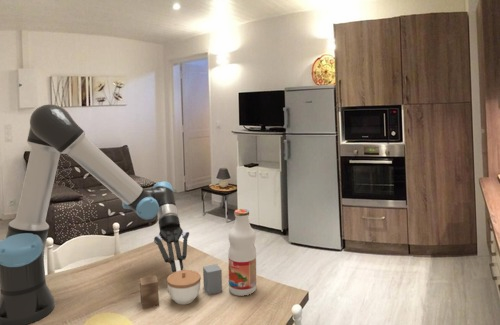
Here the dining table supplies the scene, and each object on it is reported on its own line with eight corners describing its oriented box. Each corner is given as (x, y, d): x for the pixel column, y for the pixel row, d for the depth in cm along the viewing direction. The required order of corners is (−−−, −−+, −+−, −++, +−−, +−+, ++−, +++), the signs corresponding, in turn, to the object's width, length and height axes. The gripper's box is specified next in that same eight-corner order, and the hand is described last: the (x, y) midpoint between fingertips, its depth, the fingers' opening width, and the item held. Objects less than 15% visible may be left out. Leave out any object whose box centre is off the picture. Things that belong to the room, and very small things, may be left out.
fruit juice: (261, 292, 120) (261, 212, 116) (237, 299, 115) (235, 216, 111) (247, 280, 128) (247, 205, 124) (224, 287, 123) (222, 209, 119)
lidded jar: (207, 300, 115) (206, 273, 113) (178, 312, 108) (177, 283, 106) (190, 288, 123) (189, 262, 121) (161, 298, 116) (160, 271, 115)
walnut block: (142, 309, 110) (141, 285, 109) (140, 301, 114) (139, 278, 113) (159, 305, 112) (157, 281, 111) (156, 298, 116) (155, 275, 115)
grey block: (207, 295, 118) (207, 272, 117) (203, 288, 123) (203, 266, 122) (222, 292, 120) (221, 269, 119) (217, 285, 125) (216, 264, 123)
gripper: (184, 221, 139) (196, 280, 126) (150, 226, 133) (159, 287, 121) (186, 212, 133) (200, 272, 120) (151, 216, 128) (161, 279, 115)
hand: (179, 279), depth 121 cm, fingers closed
